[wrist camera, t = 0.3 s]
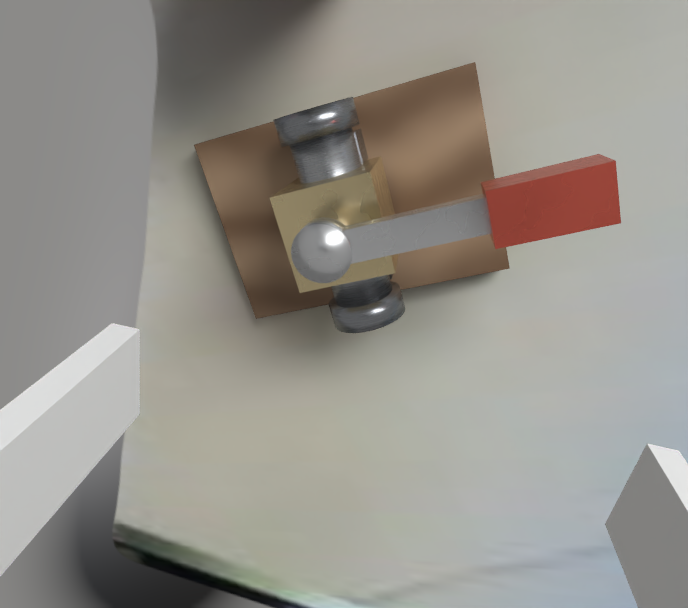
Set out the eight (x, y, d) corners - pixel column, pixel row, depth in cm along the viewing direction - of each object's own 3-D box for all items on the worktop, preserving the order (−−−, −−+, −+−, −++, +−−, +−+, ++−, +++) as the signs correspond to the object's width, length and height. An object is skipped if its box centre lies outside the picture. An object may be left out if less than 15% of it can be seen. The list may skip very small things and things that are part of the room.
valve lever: (307, 278, 29) (297, 294, 27) (290, 223, 28) (279, 235, 26) (604, 215, 26) (621, 227, 23) (598, 149, 24) (615, 156, 22)
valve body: (284, 118, 36) (234, 129, 27) (368, 93, 34) (345, 96, 25) (337, 302, 40) (311, 365, 31) (413, 287, 39) (408, 348, 30)
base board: (204, 142, 39) (194, 144, 37) (472, 63, 34) (475, 62, 33) (263, 308, 44) (255, 318, 42) (505, 259, 39) (509, 268, 37)
